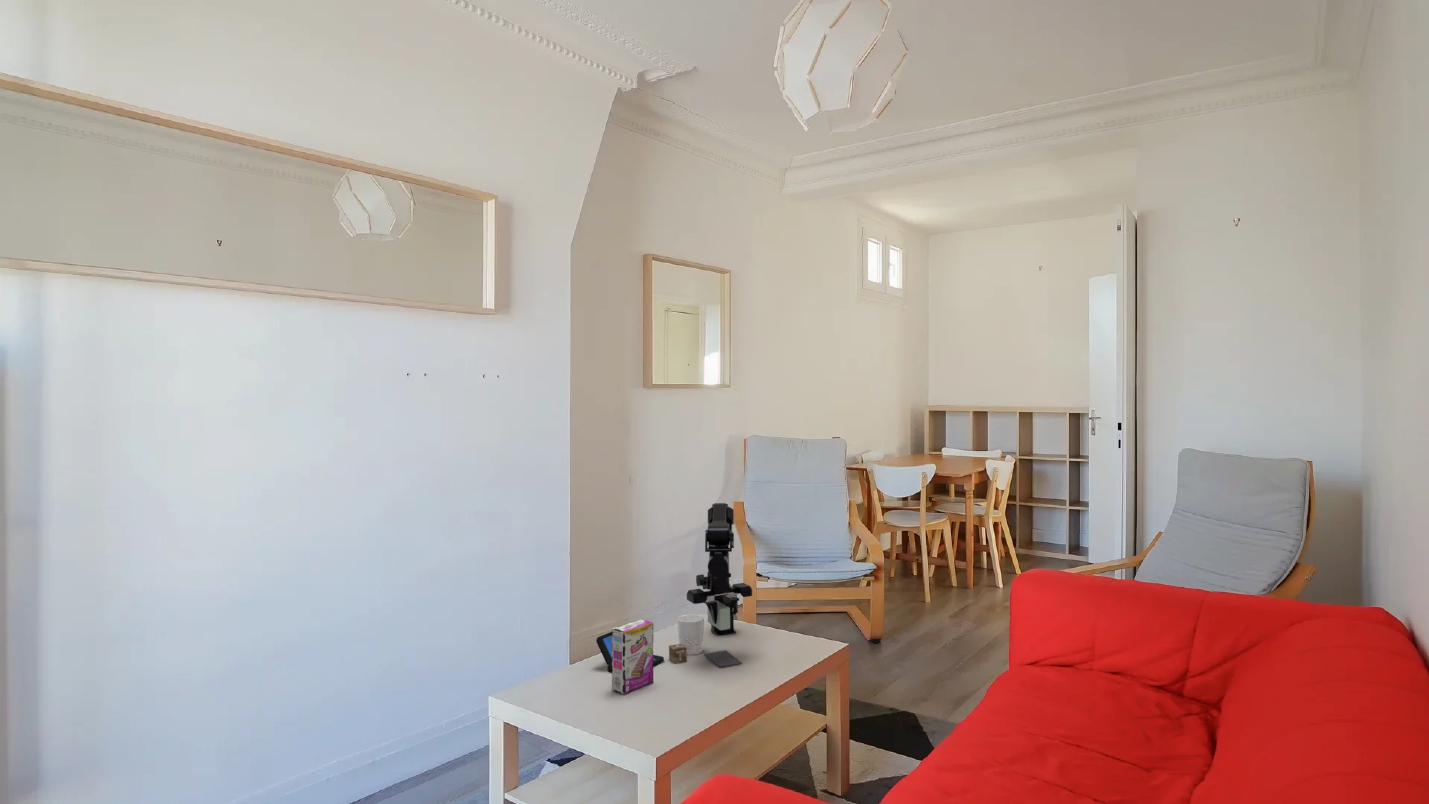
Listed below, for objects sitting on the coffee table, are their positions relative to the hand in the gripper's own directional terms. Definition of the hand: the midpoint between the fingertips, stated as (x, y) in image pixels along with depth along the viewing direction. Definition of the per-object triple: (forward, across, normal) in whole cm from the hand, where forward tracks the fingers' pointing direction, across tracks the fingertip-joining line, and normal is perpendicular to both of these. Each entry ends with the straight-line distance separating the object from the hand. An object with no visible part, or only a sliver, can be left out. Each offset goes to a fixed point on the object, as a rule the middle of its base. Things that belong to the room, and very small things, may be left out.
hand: (720, 622), depth 221 cm
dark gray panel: (+11, 0, 0) cm, 11 cm away
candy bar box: (+11, +29, +8) cm, 32 cm away
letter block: (+11, +11, -5) cm, 17 cm away
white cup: (+11, +5, -11) cm, 16 cm away
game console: (+11, +25, -8) cm, 28 cm away
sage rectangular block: (+1, 0, -1) cm, 1 cm away
